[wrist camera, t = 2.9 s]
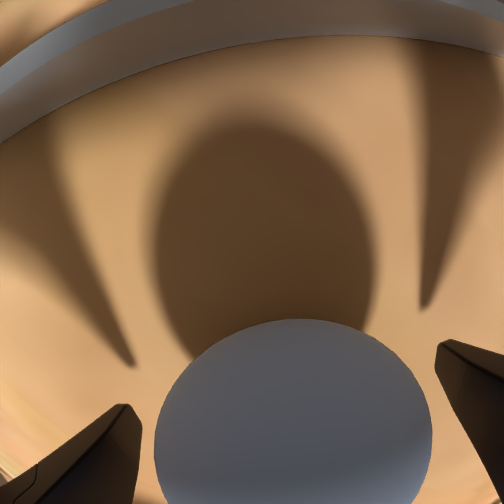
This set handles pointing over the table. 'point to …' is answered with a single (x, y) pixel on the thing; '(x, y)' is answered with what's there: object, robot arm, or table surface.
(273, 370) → the ball
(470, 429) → the robot arm
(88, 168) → the table surface
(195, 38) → the grey rectangular frame
